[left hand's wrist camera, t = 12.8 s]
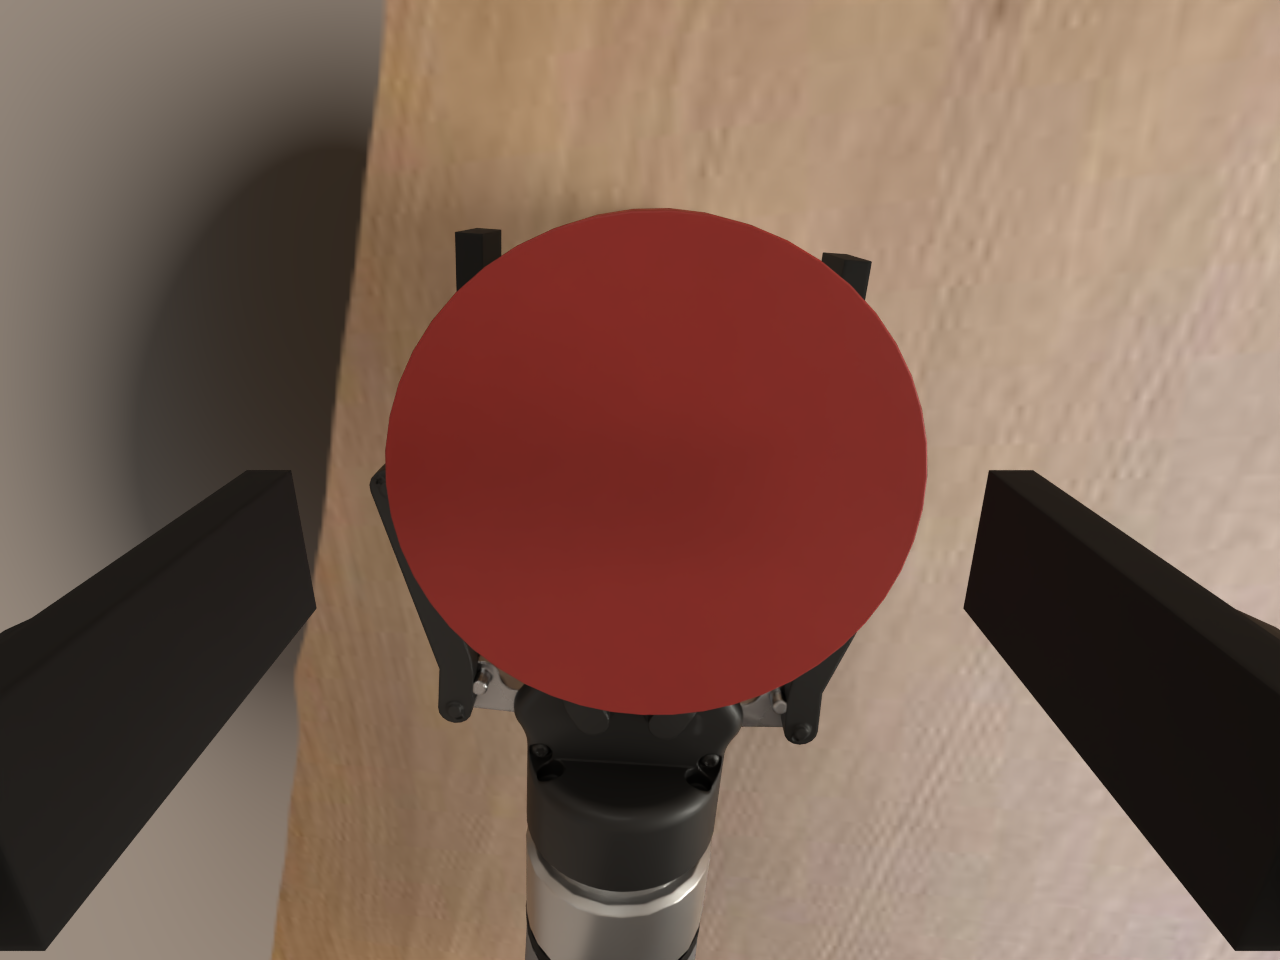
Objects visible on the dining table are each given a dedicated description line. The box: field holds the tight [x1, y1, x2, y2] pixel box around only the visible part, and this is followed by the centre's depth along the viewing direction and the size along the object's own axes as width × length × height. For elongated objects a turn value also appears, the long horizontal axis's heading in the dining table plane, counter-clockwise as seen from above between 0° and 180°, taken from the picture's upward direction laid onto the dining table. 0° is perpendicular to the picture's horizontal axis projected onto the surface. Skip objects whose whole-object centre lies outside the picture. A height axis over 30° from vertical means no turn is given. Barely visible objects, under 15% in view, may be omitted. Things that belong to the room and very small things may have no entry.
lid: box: [385, 208, 927, 715], centre depth 15 cm, size 11×11×2 cm
